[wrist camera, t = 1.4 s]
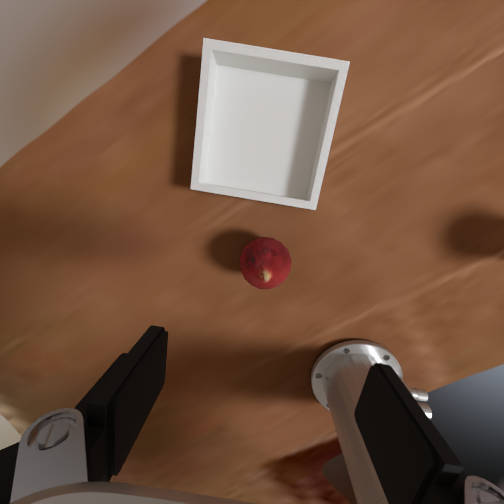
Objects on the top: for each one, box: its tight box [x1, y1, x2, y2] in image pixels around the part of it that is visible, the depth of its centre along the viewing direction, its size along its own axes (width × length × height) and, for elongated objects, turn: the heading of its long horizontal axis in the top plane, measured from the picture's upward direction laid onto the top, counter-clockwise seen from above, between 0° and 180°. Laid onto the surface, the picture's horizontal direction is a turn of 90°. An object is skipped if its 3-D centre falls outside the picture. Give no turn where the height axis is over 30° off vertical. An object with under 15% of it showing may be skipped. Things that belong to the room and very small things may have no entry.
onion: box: [240, 237, 291, 289], centre depth 26 cm, size 6×6×8 cm
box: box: [191, 38, 350, 210], centre depth 25 cm, size 14×14×4 cm
